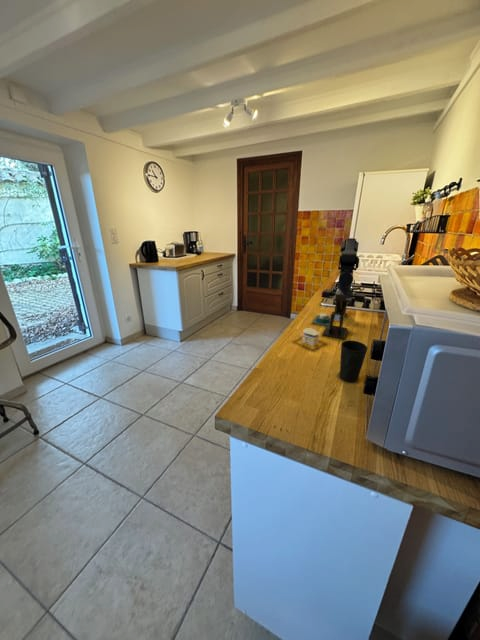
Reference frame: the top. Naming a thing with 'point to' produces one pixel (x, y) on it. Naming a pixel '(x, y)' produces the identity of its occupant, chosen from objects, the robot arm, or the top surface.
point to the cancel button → (323, 316)
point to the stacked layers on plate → (310, 336)
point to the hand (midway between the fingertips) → (340, 312)
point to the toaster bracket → (335, 328)
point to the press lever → (337, 317)
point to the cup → (351, 360)
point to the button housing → (322, 321)
